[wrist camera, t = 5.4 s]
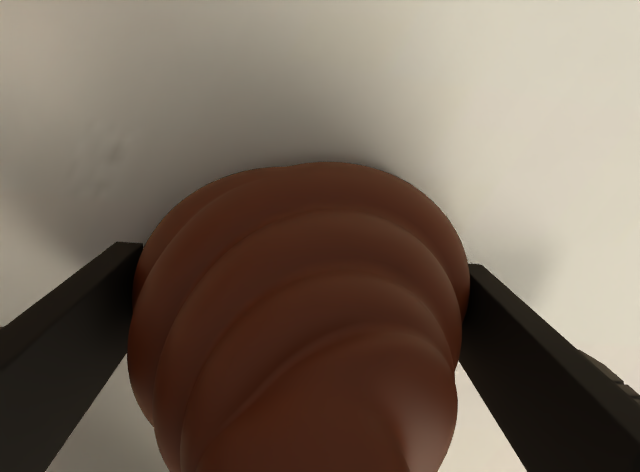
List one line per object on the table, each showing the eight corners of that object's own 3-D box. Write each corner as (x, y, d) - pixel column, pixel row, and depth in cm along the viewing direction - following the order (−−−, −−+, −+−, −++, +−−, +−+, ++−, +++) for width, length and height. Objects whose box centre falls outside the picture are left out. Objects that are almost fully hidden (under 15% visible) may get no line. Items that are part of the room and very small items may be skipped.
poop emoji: (451, 138, 11) (1160, 301, 2) (444, 363, 14) (698, 822, 5) (121, 174, 10) (-776, 533, 2) (188, 393, 14) (-16, 923, 5)
